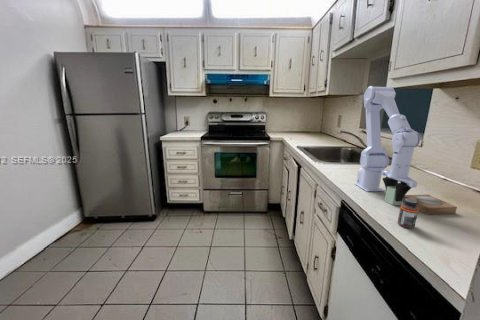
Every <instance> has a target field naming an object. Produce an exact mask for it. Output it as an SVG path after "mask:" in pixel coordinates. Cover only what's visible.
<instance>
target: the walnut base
mask: <svg viewBox="0 0 480 320" xmlns="http://www.w3.org/2000/svg"><path fill="white" fill-rule="evenodd" d="M405 199H413V200H415V201H417V205H416V206H417V207H418V208H419V210H418V212H421V213H424V214H425V215H426V216H427V215H450V214H456V213H457V209H458V208H457V207H458V206H455V205H454V204H451V203H449V202H446V201H444V200H442V199H440V198H437V197H435V196H432V195H431V194H406V195H405V196H404V198H403V202H402V203H404V202H405Z"/></svg>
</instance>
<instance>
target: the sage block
mask: <svg viewBox="0 0 480 320" xmlns="http://www.w3.org/2000/svg"><path fill="white" fill-rule="evenodd" d="M395 196H396V186H387V190H386V189H385V196H384V201H385V203H387V204H390V205H391V206H401V204H403V203H404V202H403V200H402V201H395Z"/></svg>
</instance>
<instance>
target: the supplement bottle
mask: <svg viewBox="0 0 480 320" xmlns="http://www.w3.org/2000/svg"><path fill="white" fill-rule="evenodd" d="M416 205H417V201H415V200H413V199H405V202H402V204H401V205H400V208H399V214H398V218H397V224H398V225H399V226H401V227H402V228H405V229H414V228H415V226H416V223H417V218H418V214H419V208H418V207H417V206H416Z"/></svg>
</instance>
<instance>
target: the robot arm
mask: <svg viewBox="0 0 480 320" xmlns="http://www.w3.org/2000/svg"><path fill="white" fill-rule="evenodd" d="M396 94H397V93H396V91H395V89H394V87H393V86H373V85H369V86H368V87H367V88H366V89H365V92H364V93H363V106H364V107H363V108H364V109H365V124H366V125H365V127H366V128H365V129H366V146H367V147H366V148H364V149H363V150H362V151H361V153H360V159H359V163H360V168H358V169H359V170H358V171H357V176H356V182H355V183H353V184H354V185H355V186H357V187H359V188H360V189H362V190H364V191H366V192H384V191H386V190H387V186H396V196H395V201H402V200H403V198H404V196H405V195H407V193H408V192H410V190H411V189H413V188H417V187H418V181H416V180H414V179H412V178H411V177H410V176H409V173H410V168H411V163H412V159H413V154H414V149H415V148H417V147H418V146H419V145H420V142H421V135H420V133H419V132H418V131H415V129H412V128H411V125H410V124H409V121H408V120H407V116H405V115H404V114H400V110H399V108H398V106H397V102H396V100H395V98H396ZM382 109H384V111H385V112H386V115H387V117H388V118H389V119H388V121H387V124H388V127H389V128H390V131H391V133H392V136H393V137H391V143H392V152H393V154H392V158H391V164H390V159H389V157H388V152H387V150H386V149H384V148H383V146H382V137H381V135H382V134H381V115H380V114H381V113H380V112H381V110H382ZM389 164H390V170H387V168H388V166H389ZM382 176H385V177H382ZM381 180H382V181H383V183H384V187H385V189H383V188H380V184H381Z"/></svg>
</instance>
